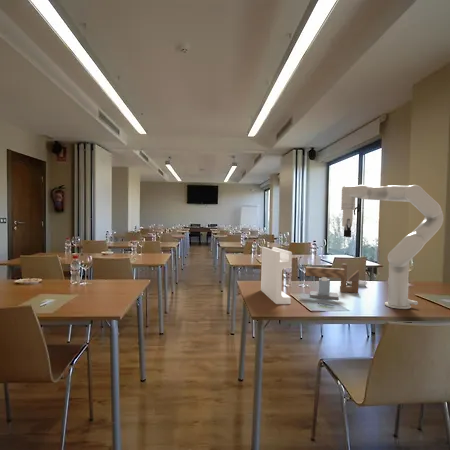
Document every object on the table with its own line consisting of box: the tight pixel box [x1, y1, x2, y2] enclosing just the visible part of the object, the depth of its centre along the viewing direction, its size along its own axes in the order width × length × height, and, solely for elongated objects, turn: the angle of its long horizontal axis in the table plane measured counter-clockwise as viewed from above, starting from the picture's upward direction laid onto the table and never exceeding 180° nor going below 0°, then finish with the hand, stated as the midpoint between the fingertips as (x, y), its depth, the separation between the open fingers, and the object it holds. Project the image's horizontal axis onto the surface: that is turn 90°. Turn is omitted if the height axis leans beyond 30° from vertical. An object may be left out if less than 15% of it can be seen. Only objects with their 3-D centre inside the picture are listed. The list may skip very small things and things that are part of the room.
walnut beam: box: [305, 266, 344, 279], centre depth 205 cm, size 22×4×5 cm, turn 75°
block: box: [260, 246, 293, 305], centre depth 201 cm, size 35×8×28 cm, turn 8°
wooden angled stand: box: [339, 263, 360, 294], centre depth 219 cm, size 4×11×18 cm, turn 82°
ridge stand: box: [309, 277, 340, 301], centre depth 205 cm, size 16×12×12 cm
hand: (347, 236), depth 198 cm, fingers open, 9 cm apart
